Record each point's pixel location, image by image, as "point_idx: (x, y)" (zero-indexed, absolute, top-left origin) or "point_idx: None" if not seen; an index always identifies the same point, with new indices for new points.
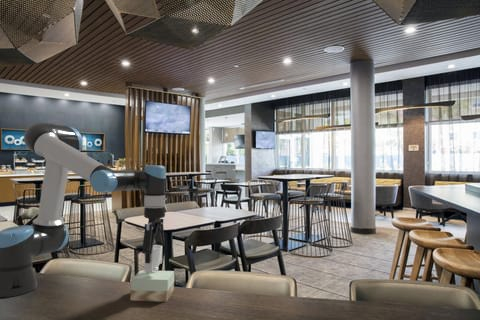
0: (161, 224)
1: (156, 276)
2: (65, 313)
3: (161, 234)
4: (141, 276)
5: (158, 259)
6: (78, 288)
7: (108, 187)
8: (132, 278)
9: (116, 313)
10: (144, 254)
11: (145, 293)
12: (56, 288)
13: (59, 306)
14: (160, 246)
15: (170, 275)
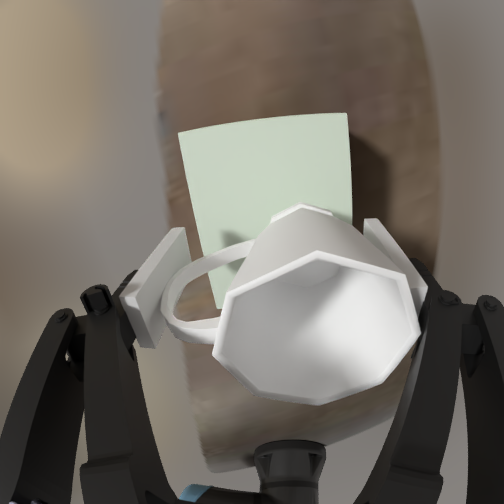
0: (21, 497)
1: (299, 198)
2: (409, 355)
3: (55, 389)
4: None
5: (335, 222)
6: (261, 399)
7: None
8: None
9: (427, 251)
10: (337, 348)
11: None
12: (270, 423)
13: None
14: (237, 294)
15: (265, 122)
